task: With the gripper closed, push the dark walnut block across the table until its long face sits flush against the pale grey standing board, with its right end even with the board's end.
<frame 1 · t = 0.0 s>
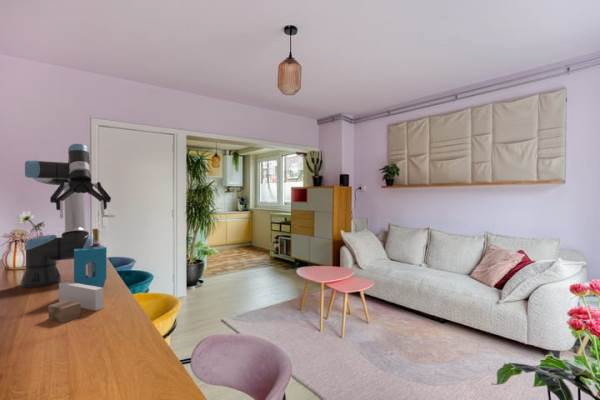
hand: (83, 215, 122), 36 cm above the table, tool tilted 35°, fingers open, 13 cm apart
block: (90, 293, 137), on the table
walnut block: (64, 317, 110), on the table
liquor: (96, 287, 145), on the table
grey board: (80, 305, 122), on the table
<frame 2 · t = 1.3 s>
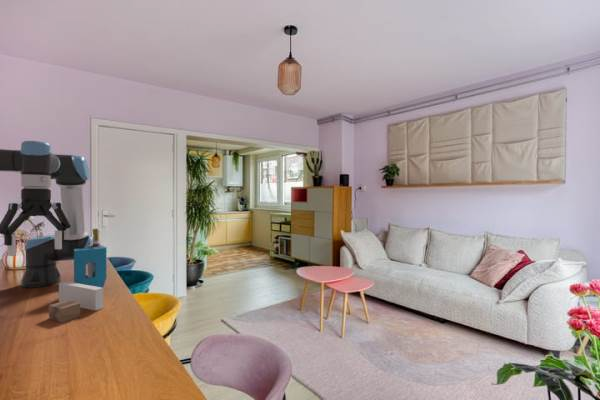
hand: (36, 252, 102), 25 cm above the table, tool pointing down, fingers open, 12 cm apart
nothing on the table moved.
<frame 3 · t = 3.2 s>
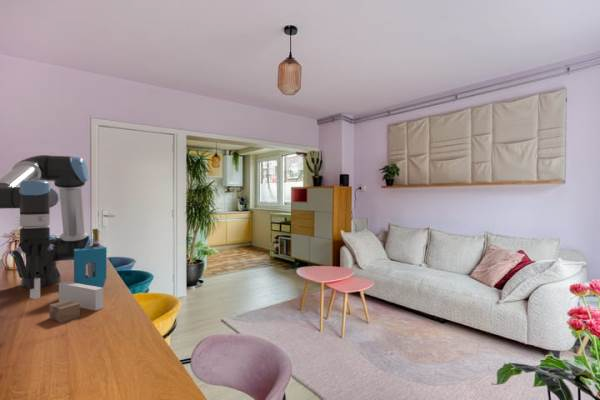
hand: (35, 297, 101), 10 cm above the table, tool pointing down, fingers closed
nothing on the table moved.
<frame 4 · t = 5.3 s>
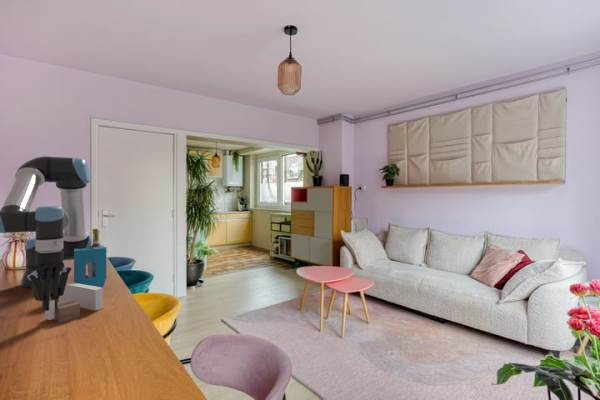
hand: (49, 318, 106), 1 cm above the table, tool pointing down, fingers closed
walnut block: (65, 317, 110), on the table, touching gripper
everything else where it was.
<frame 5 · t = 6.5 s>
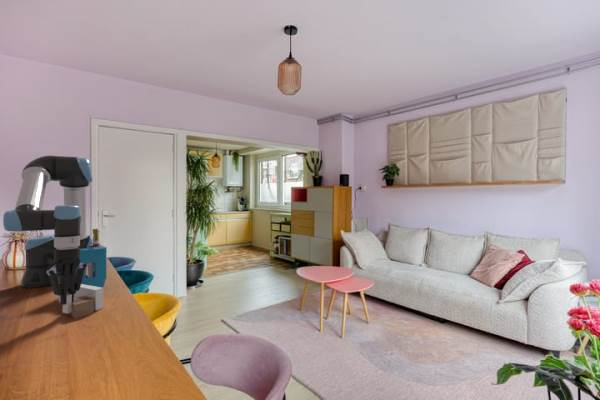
hand: (67, 312, 111), 2 cm above the table, tool pointing down, fingers closed
walnut block: (80, 313, 114), on the table, touching grey board, gripper
everything else where it was.
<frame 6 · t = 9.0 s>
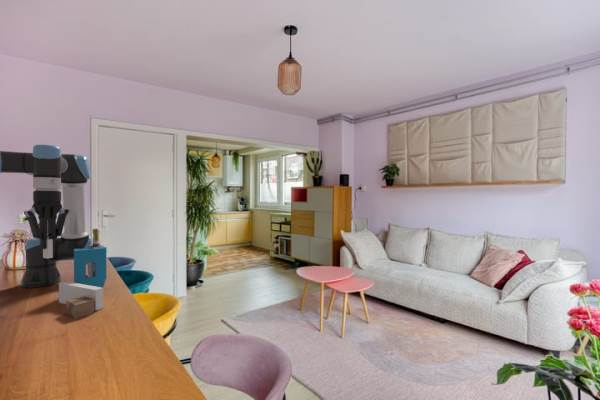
hand: (47, 257, 106), 22 cm above the table, tool pointing down, fingers closed
walnut block: (80, 313, 114), on the table
everything else where it was.
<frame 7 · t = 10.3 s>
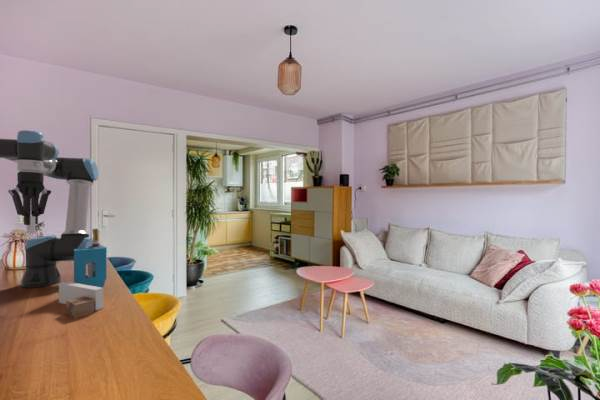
hand: (31, 233, 117), 29 cm above the table, tool pointing down, fingers closed
nothing on the table moved.
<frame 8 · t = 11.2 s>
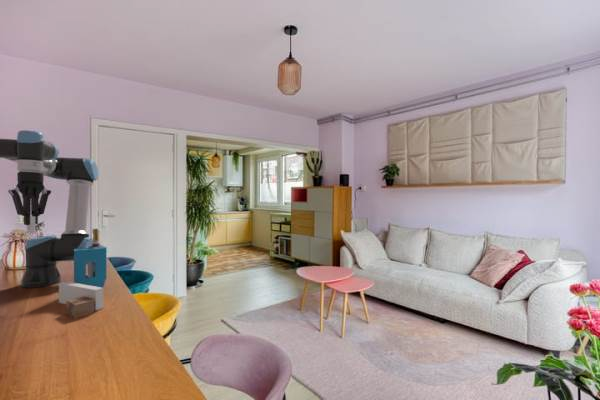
hand: (31, 233, 117), 29 cm above the table, tool pointing down, fingers closed
nothing on the table moved.
at the end: walnut block 1.1 cm from the target spot on the table beside the grey board, on the table; walnut block tilted 0° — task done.
